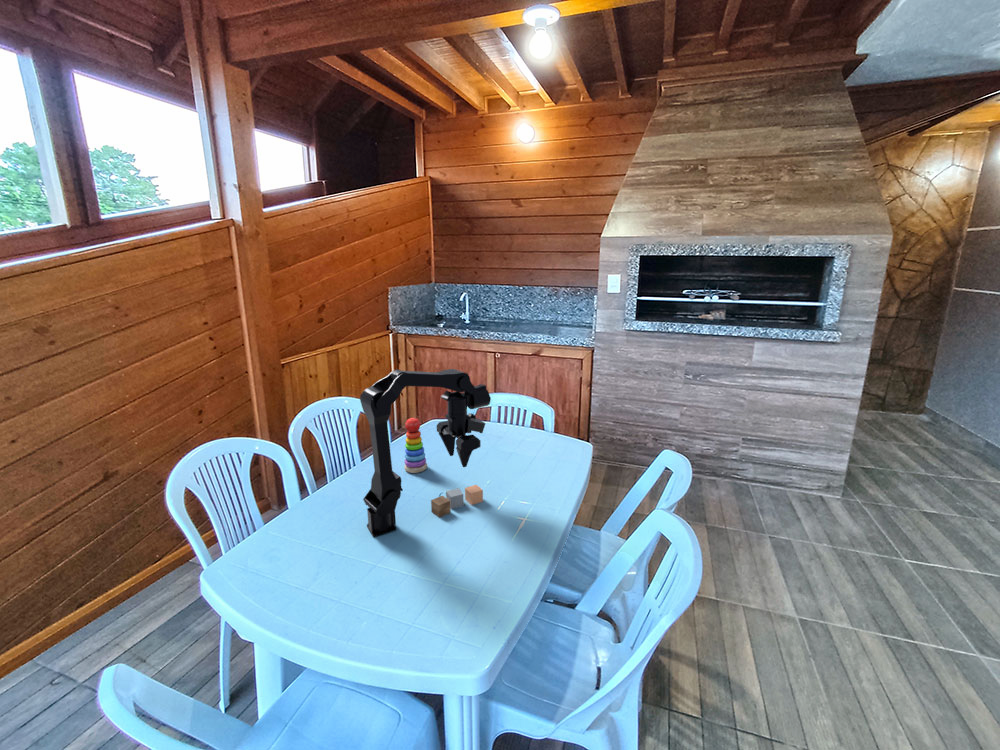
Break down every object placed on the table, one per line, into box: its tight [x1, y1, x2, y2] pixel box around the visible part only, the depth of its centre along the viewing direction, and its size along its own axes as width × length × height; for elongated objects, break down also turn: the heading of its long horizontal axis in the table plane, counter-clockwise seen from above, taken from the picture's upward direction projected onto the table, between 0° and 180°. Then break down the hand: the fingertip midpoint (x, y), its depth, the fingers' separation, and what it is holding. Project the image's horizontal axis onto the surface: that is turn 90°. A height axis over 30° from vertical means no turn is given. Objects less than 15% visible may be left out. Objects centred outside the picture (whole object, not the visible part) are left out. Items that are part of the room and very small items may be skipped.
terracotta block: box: [464, 484, 484, 506], centre depth 145 cm, size 4×4×4 cm
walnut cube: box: [430, 495, 452, 518], centre depth 139 cm, size 4×4×4 cm
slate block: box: [445, 488, 465, 510], centre depth 143 cm, size 4×4×4 cm
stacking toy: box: [403, 417, 428, 474], centre depth 165 cm, size 8×8×19 cm
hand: (457, 461), depth 144 cm, fingers open, 9 cm apart
